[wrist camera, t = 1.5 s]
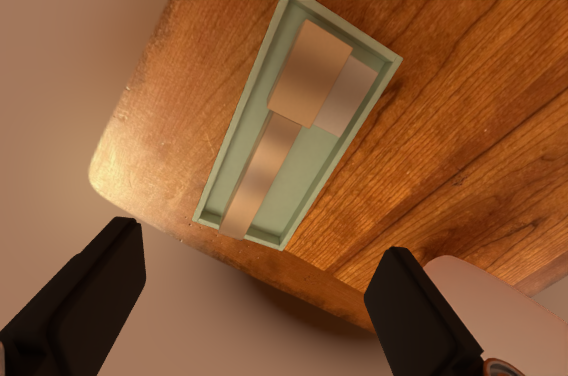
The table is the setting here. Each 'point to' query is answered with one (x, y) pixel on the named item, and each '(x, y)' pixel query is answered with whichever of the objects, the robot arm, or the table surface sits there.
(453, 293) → the cup
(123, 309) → the robot arm
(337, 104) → the brush
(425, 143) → the table surface
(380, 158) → the table surface
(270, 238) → the tray
